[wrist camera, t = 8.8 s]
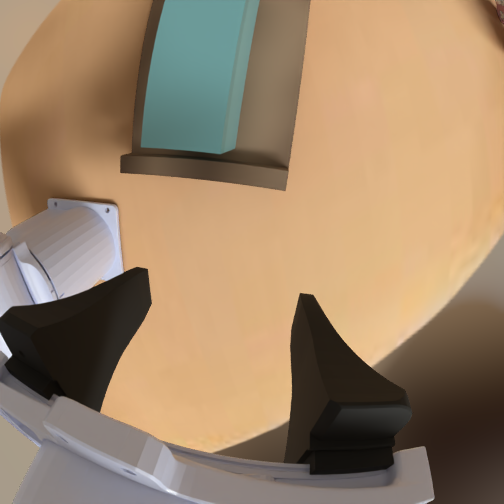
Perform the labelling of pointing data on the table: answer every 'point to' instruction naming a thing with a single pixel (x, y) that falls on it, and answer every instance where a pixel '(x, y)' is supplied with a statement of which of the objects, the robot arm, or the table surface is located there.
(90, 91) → the table surface
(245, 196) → the table surface
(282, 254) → the table surface
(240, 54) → the teal rectangular block
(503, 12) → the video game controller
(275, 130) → the display stand
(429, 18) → the table surface
